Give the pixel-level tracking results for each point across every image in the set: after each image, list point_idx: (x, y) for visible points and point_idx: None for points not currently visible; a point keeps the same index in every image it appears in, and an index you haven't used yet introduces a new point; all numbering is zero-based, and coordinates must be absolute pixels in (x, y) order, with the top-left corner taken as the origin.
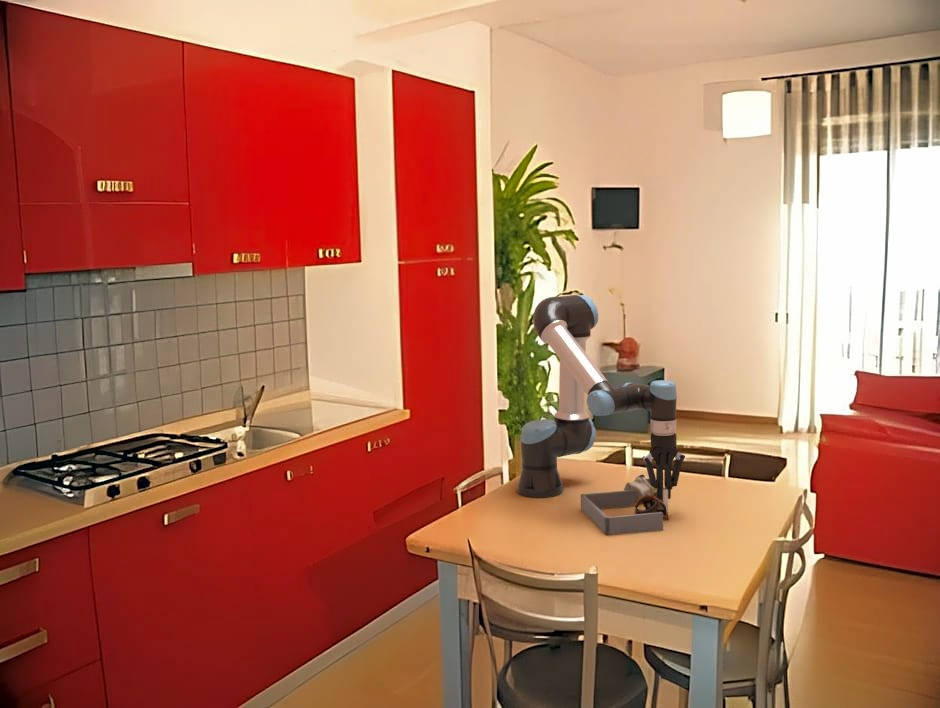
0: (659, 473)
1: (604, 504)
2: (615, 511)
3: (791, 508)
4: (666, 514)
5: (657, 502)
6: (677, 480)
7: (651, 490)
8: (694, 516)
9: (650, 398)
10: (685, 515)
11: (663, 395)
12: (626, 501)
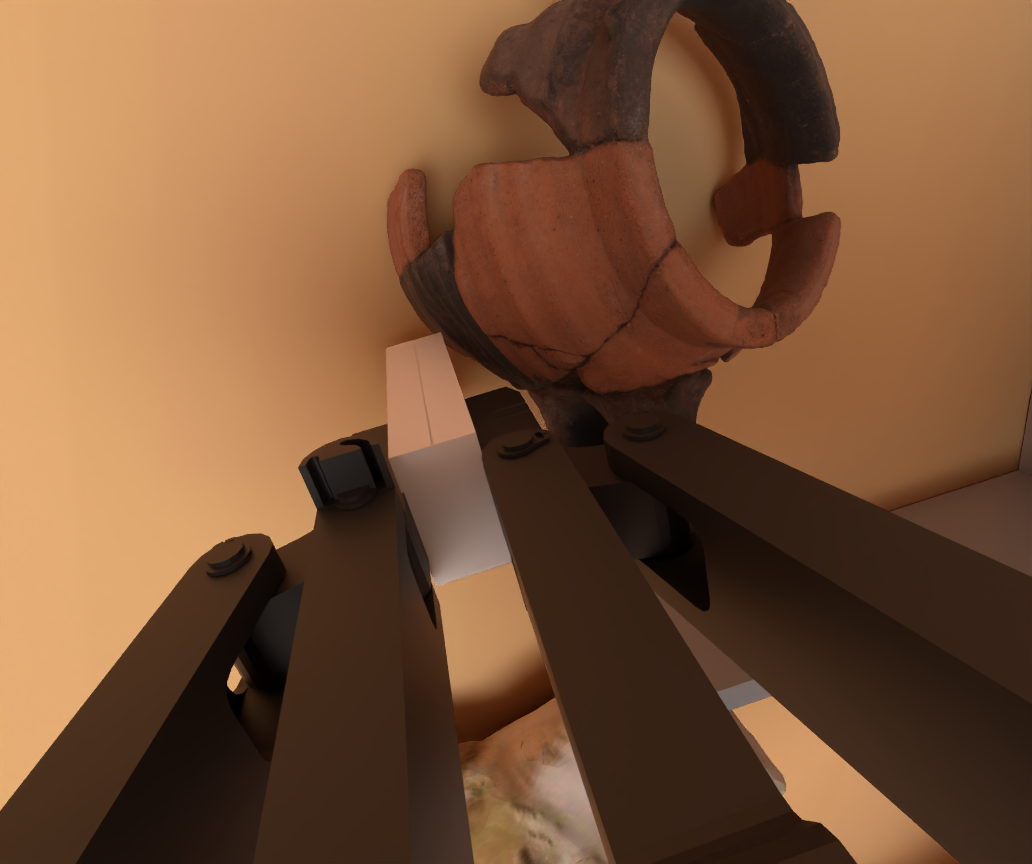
0: (681, 642)
1: None
2: (817, 464)
3: None
4: (422, 175)
5: (618, 30)
6: (145, 638)
7: (507, 780)
8: (77, 328)
9: None
10: (189, 363)
11: None
12: None
